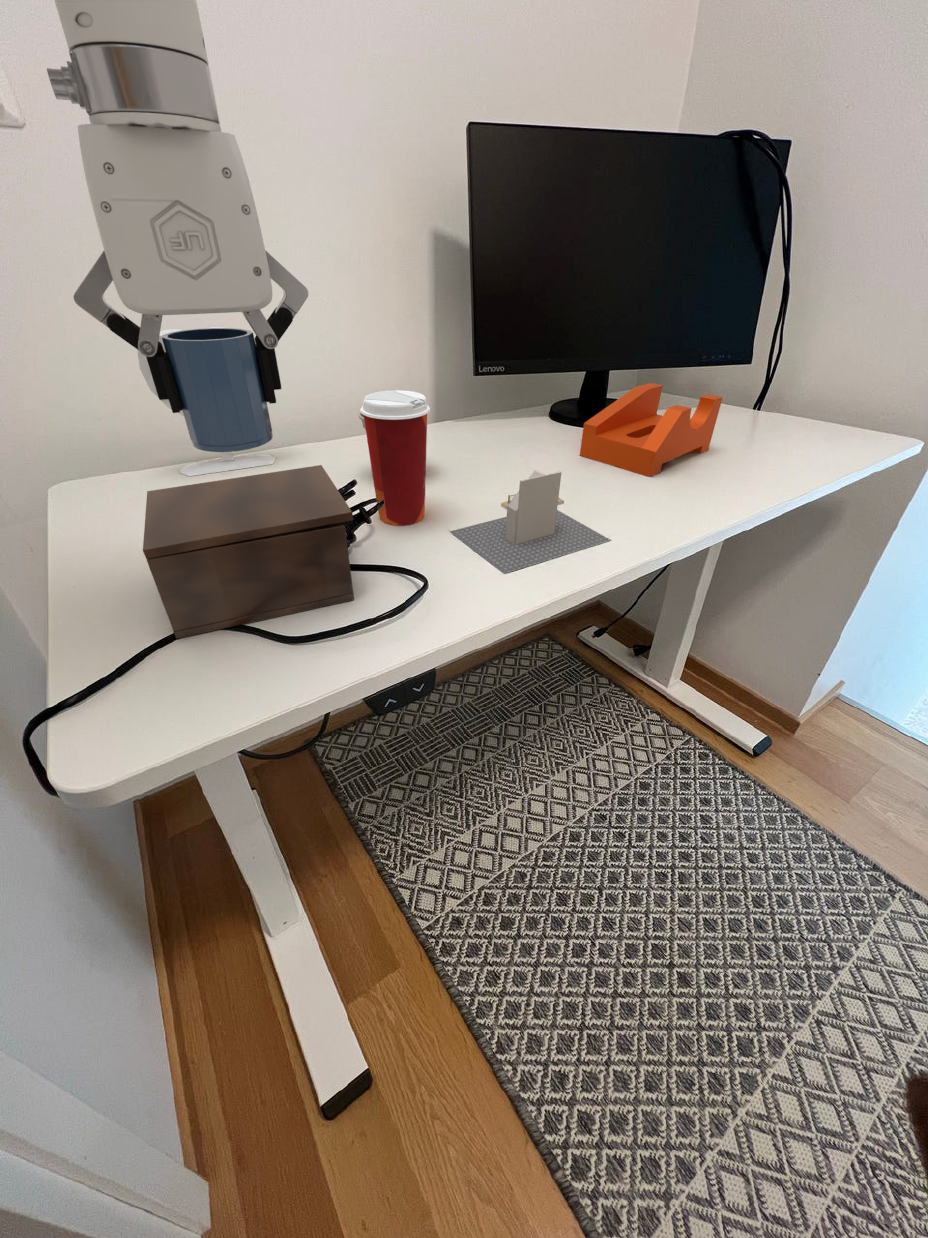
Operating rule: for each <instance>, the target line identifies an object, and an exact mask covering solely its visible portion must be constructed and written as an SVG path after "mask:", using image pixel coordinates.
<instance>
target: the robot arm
mask: <svg viewBox="0 0 928 1238" xmlns="http://www.w3.org/2000/svg"><path fill="white" fill-rule="evenodd" d="M54 3H55V7H56V10H57V14H58V17H59V20H60V24H61V28H62V31H63V34H64V37H65V41H66V44H67V45H66V46H67V48H68V54H69V57H70V61H68V60H67V61H66V66H60V69H59V68H50V67H47V68H46V71H47V76H48V78H49V79H48V80H49V83H50V85H51V89H52V91H53V94H54V97H55V98H56V100H57V101H58V100H59V101H70V103H71V104H72V105H79V108H80V109H81V110H85V112H86V114H87V115H88V119H89V123H83V124H78V125H77V133H78V141H79V148H80V154H81V160H82V167H83V171H84V177H85V181H86V185H87V190H88V194H89V198H90V202H91V205H92V210H93V215H94V218H95V221H96V224H97V225H96V226H97V230H98V233H99V237H100V240H101V245H102V247H103V251H102V252H101V253H100V255H99V257H97V259H96V261H95V263H94V264H93V266H92V267H91V268H90V270H89V272H88V273H87V274H86V276H85V277H84V279H83V280H82V282H81V283H80V284H79V286H78V287H77V289H76V290H75V292H74V294H73V297H72V298H73V301H74V303H75V304H76V305H77V306H78V307H79V308H81V309H82V310H84V311H85V312H86V313H87V314H89V315H90V316H92V317H93V318H94V319H95V320H97V321H98V322H99V323H101V324H103V325H104V326H105V327H107V328H108V330H110V331H111V332H112V333H113V334H115V335H116V336H118V337H119V338H120V339H121V340H122V341H123V340H124V341H125V342H126V343H128V344H129V345H130V346H131V347H133V348H135V349H136V351H137V350H139V351H140V352H141V354H143V355H144V356H146V358H147V362H148V365H149V368H150V371H151V375H152V378H153V381H154V384H155V388H156V391H157V394H158V397H159V398H158V397H157V398H158V399H159V401H161V400H167V399H169V402H170V406H171V409H170V410H171V412H172V414H179V412H180V411H181V410H182V406H181V402H180V399H179V395H178V392H177V388H176V385H175V381H174V378H173V374H172V371H171V367H170V364H169V360H168V357H167V354H166V352H164V350H163V346H162V343H160V342H159V335H160V332H161V328H162V321H163V316H177V315H179V316H181V315H203V314H205V315H206V314H227V313H241V314H242V316H243V317H244V319H245V320H246V321H247V323H248V324H249V326H250V328H251V329H252V332H253V334H255V336H254V339H255V343H256V344H255V345H256V352H257V357H258V363H259V368H260V373H261V378H262V383H263V388H264V393H265V398H266V402H267V403H269V404H270V405H271V404H277V398H276V391H278V390H282V383H281V382H282V381H281V377H280V371H279V366H278V365H279V364H278V360H277V354H276V348H277V346H278V344H279V341H280V340H281V338H282V337H283V336H284V335H285V333H286V332H287V330H288V329H289V327H290V326H291V324H292V323H293V321H294V318H295V317H296V315H297V314H298V313H299V312H300V310H301V309H302V307H303V305H304V304H305V302H306V301H307V299H308V298H309V290H308V288H307V287H306V285H304V284H303V283H302V282H301V281H299V279H297V278H296V277H295V276H294V275H293V274H292V273H291V272H290V271H289V270H288V269H287V268H286V267H285V266H283V265H282V264H281V263H280V262H279V261H278V260H277V259H276V258H274V256H272V255H271V254H270V253H269V252H268V251H267V250H266V247H265V242H264V237H263V234H262V229H261V224H260V220H259V216H258V212H257V207H256V203H255V199H254V195H253V190H252V187H251V184H250V180H249V176H248V173H247V169H246V166H245V163H244V159H243V155H242V152H241V149H240V147H239V144H238V141H237V139H236V136H235V134H233V133H230V132H223V131H222V126H221V122H220V116H219V110H218V106H217V102H216V101H217V100H216V96H215V90H214V85H213V79H212V75H211V74H212V73H211V69H210V66H209V60H208V54H207V50H206V44H205V37H204V32H203V28H202V21H201V18H200V12H199V7H198V3H197V0H54ZM272 281H273V282H274V283H275V284H276V285H277V286H278V287H279V288H281V290H282V293H283V296H282V298H281V300H280V302H279V303H278V305H277V306H276V307H275V308H274V309H273V311H272V312H271V313H270V315H269V316H268V318H267V317H265V315H264V313H263V312H262V309H264V308H266V307H267V306H268V305H270V304H271V302H272V301H273V287H272ZM112 283H113V285H114V287H115V289H116V292H117V295H118V297H119V299H120V300H121V302H122V304H123V305H124V306H125V307H126V308H127V309H128V310H131V311H132V312H135V313H137V314H141V319H140V326H139V325H137V324H136V323H135V322H134V321H132V320H131V319H130V318H128V317H127V316H125V315H124V314H123V313H121V312H119V311H118V310H116V309H115V308H114V307H113V306H112V305H111V304H109V303H108V302H107V301H106V299H105V293H106V291H107V290H108V288H109V287H110V286H111V284H112Z"/></svg>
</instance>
